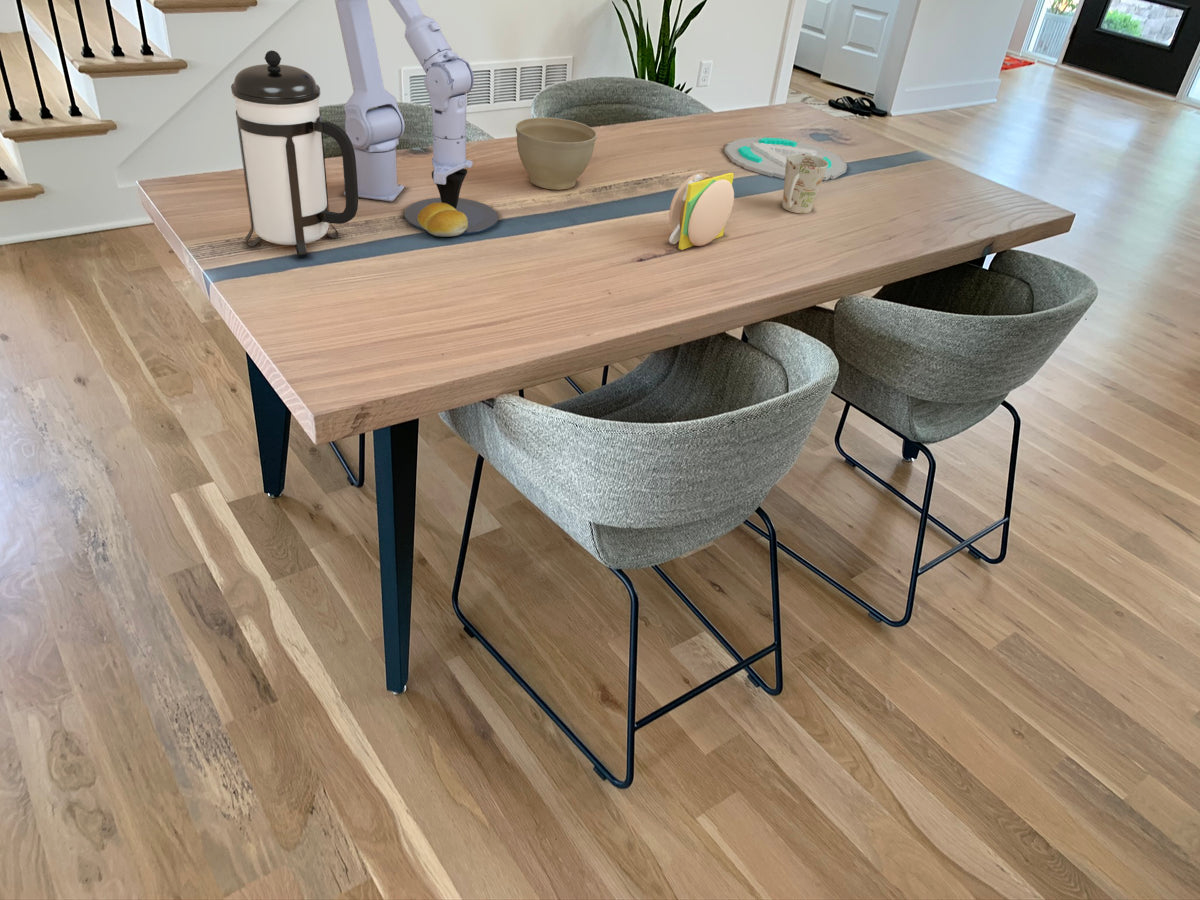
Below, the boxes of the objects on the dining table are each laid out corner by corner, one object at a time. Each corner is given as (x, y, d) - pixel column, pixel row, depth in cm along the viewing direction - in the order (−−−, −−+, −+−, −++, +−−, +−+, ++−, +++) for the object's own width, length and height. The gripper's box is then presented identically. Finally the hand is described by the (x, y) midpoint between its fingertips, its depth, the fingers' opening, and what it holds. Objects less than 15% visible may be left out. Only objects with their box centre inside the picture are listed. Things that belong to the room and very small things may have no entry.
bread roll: (438, 242, 155) (438, 219, 153) (410, 223, 160) (410, 202, 158) (478, 232, 160) (478, 211, 157) (450, 215, 165) (449, 194, 162)
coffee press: (251, 266, 142) (223, 65, 124) (241, 226, 153) (213, 38, 136) (362, 257, 148) (350, 65, 131) (344, 219, 160) (331, 39, 142)
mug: (820, 207, 189) (832, 159, 183) (805, 225, 179) (817, 176, 173) (782, 197, 191) (793, 150, 185) (766, 215, 182) (776, 166, 176)
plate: (392, 228, 159) (392, 225, 159) (419, 195, 173) (419, 192, 172) (487, 241, 158) (487, 238, 158) (506, 206, 172) (506, 204, 172)
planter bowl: (576, 202, 177) (580, 147, 171) (501, 186, 181) (502, 131, 174) (602, 179, 190) (607, 126, 184) (531, 163, 193) (534, 112, 187)
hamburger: (698, 225, 174) (708, 163, 167) (732, 240, 169) (743, 177, 162) (657, 238, 167) (665, 174, 160) (690, 254, 162) (701, 189, 155)
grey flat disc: (760, 133, 228) (761, 126, 227) (862, 162, 216) (864, 156, 215) (704, 156, 209) (705, 149, 208) (813, 189, 197) (815, 182, 196)
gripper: (462, 150, 149) (462, 227, 157) (481, 125, 161) (480, 198, 169) (420, 144, 150) (422, 222, 157) (442, 120, 161) (443, 194, 169)
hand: (449, 210), depth 163 cm, fingers closed
